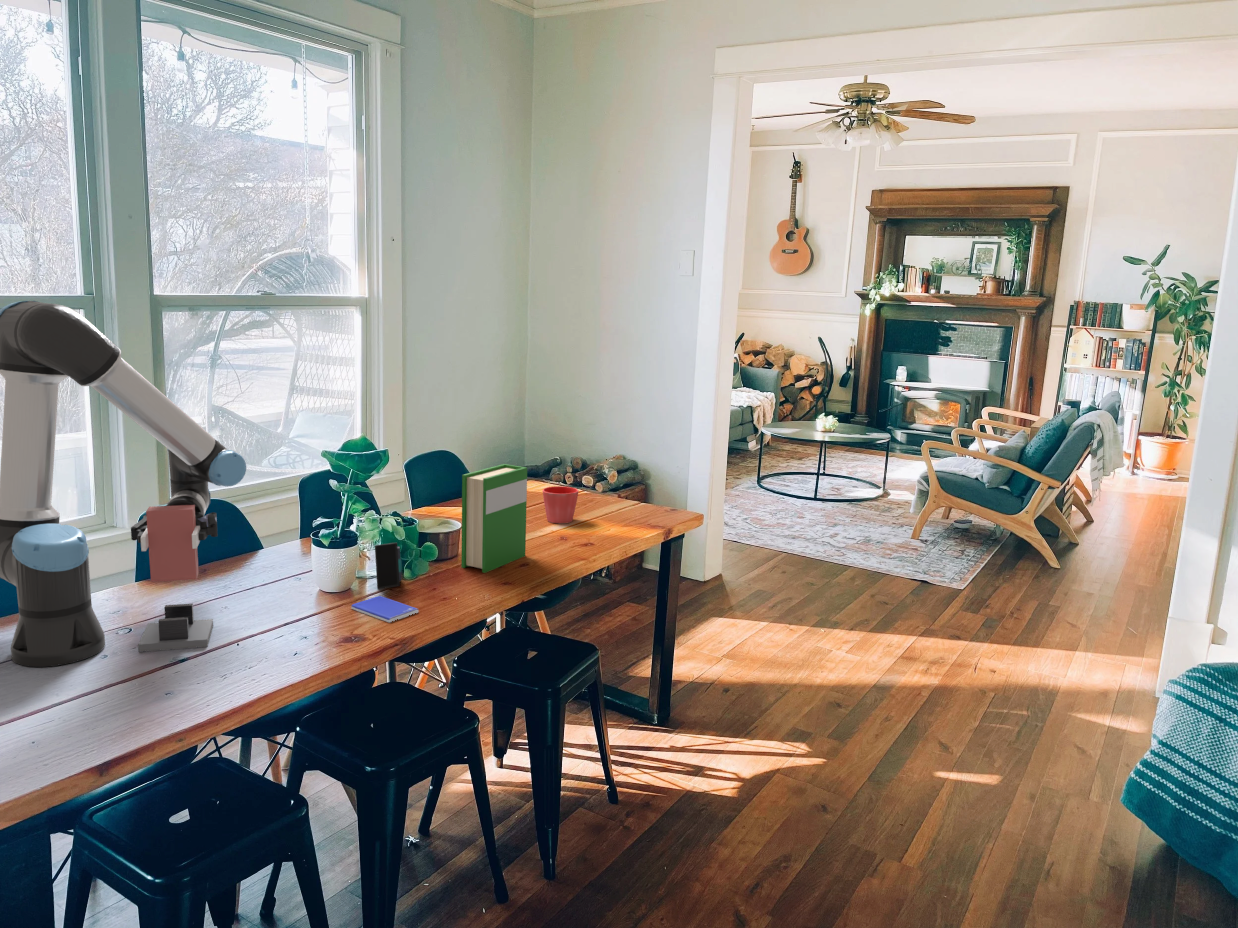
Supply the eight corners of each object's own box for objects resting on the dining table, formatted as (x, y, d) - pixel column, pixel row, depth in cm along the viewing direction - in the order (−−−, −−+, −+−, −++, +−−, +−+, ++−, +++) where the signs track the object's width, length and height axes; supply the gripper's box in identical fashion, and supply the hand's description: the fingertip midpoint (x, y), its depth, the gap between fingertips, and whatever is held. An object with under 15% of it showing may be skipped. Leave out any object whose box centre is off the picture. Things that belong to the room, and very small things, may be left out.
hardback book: (485, 572, 230) (486, 479, 225) (461, 567, 233) (462, 474, 228) (525, 555, 245) (527, 467, 240) (502, 551, 248) (504, 463, 243)
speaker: (402, 587, 216) (400, 543, 214) (377, 589, 214) (374, 545, 213) (402, 580, 223) (400, 538, 222) (378, 582, 222) (375, 539, 220)
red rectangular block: (151, 581, 177) (146, 511, 174) (154, 576, 180) (149, 506, 177) (196, 579, 179) (192, 509, 176) (198, 573, 182) (194, 504, 180)
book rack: (138, 651, 175) (136, 624, 174) (148, 630, 185) (146, 604, 184) (207, 646, 179) (206, 619, 177) (213, 625, 189) (212, 600, 188)
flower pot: (541, 515, 286) (542, 485, 284) (576, 516, 287) (577, 486, 286) (542, 524, 276) (543, 493, 274) (578, 525, 277) (579, 493, 275)
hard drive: (418, 607, 201) (380, 594, 208) (389, 618, 194) (351, 604, 201) (418, 614, 201) (380, 601, 208) (389, 625, 195) (351, 611, 202)
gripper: (238, 527, 198) (229, 558, 177) (130, 531, 192) (108, 565, 171) (237, 493, 197) (227, 521, 176) (128, 497, 190) (105, 526, 169)
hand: (168, 542), depth 173 cm, fingers closed on red rectangular block, 8 cm apart
